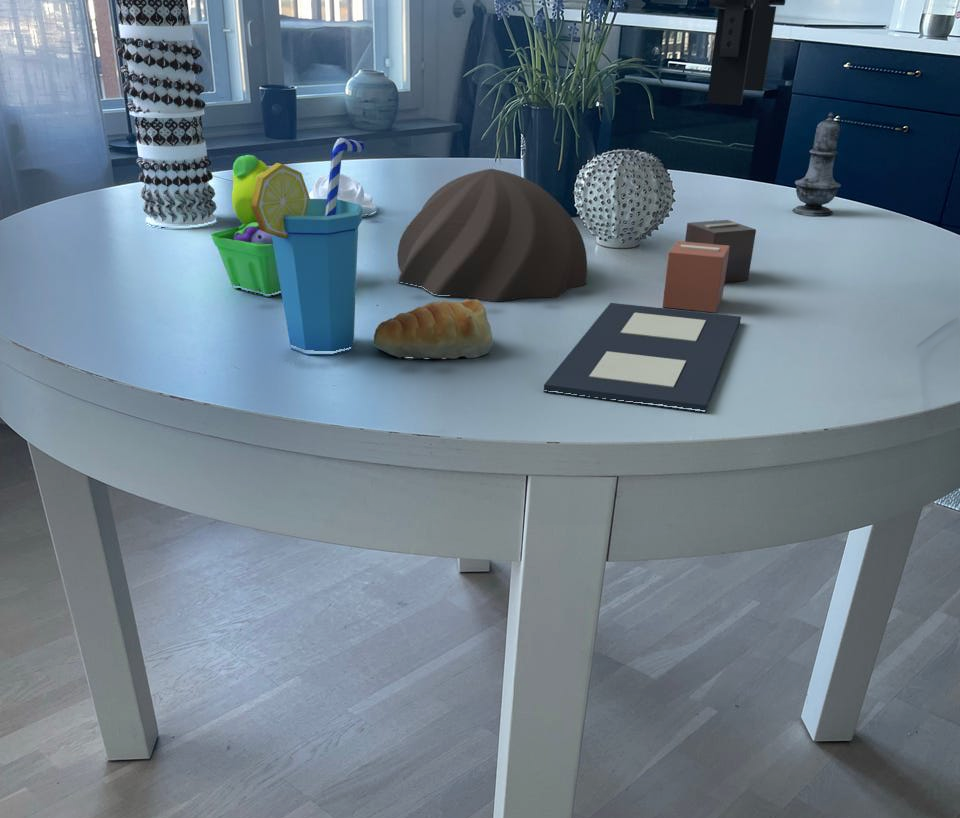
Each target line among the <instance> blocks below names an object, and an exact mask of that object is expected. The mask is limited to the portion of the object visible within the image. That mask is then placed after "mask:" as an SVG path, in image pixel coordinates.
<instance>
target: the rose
mask: <svg viewBox="0 0 960 818" xmlns="http://www.w3.org/2000/svg"><path fill="white" fill-rule="evenodd" d="M329 175H330V174H326V175H322V176H320V177H318V178H317V179H316V180H315V181H314V184H313V187H312V190H311V191H310V192H308V194H309V197H310V199H327V194H328V184H329ZM337 199H338V200H342V201H347V202H351V203H355V204H359V205H361V206H362V215H364V214H371V213H373V212H375V211H377V212H378V208H379V205H378V204H377V203H376V202H373V195H371V194H369V193H367V192H365V190H364V187H363V186H362V184H361V183H360V182H359V181H358V180H357V179H356V178H354V177H353V178H352V177H351V176H348V175H346V174H343V173H340V178H339V187H338V196H337ZM375 214H376V213H374V214H372V215H368V216H367V217H370V216H373V215H375ZM365 217H366V216H362V218H365Z"/></svg>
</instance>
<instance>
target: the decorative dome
mask: <svg viewBox="0 0 960 818" xmlns="http://www.w3.org/2000/svg"><path fill="white" fill-rule="evenodd" d="M397 266H398V269H399V268H400V269H401V270H402V271H401V270H400V269H399V270H400V274H399V277H398V279H397V283H398V284H401V285H405V286H410V287H415V288H419V289H422V290H424V291H425V292H426V293H428V294H430V295H431V296H434V297H438V296H437V295H450V296H439V297H443V298H445V297H447V298H448V297H449V298H471V299H478V300H481V301H482V300H483V301H488V302H492V303H493V302H494V303H495V302H496V303H499V302H500V303H501V302H506V301H512V300H517V299H518V300H519V299H524V298H556V297H559V296H561V294H563V292H564V291H565V290H568V289H572V288H577V287H580V286H581V287H582V286H585V285H586V284H587V278H588V257H587V250H586V245H585V243H584V239H583V237H582V234H581V232H580V230H579V228H578V226H577V224H576V223H575V221H574V220H573V218H572V216H571V215H570V214H569V213H568V211H567V209H565V208H564V207H563V206H562V204H561V203H560V202H559V201H557V199H555V197H554V196H552V195H551V194H550V193H549V192H548V191H547V190H546V189H544V188H543V187H541V186H540V185H538V184H536V183H534V181H531V180H529V179H528V178H525V177H523V176H520V175H517V174H515V173H511V172H509V171H504V170H500V169H495V168H487V169H481V170H478V171H474V172H471V173H467V174H464V175H462V176H459V177H457V178H455V179H453V180H451V181H448V182H447V183H446V184H444V185H443V186H441V187H440V188H438V189H437V190H436V191H435V192H434V193H433V194H432V195H431V196H430V197H429V198H428V199H427V201H426V202H425V203H424V205H423V206H422V208H421V210H420V211H419V212H418V213H417V214H416V215H415V216H414V217H413V218H412V220H411V221H410V223H409V224H408V225H407V227H406V228H405V229H404V231H403V233H402V234H401V236H400V239H399V242H398V247H397ZM398 281H399V282H398ZM400 282H403V283H400ZM404 283H408V284H404ZM409 284H413V285H417V286H413V285H409ZM418 286H422V287H424V288H425V289H427V290H428V291H430V292H432V293H433V294H437V295H433V294H431V293H430V292H428V291H427V290H425V289H424V288H422V287H418ZM469 296H470V297H469Z"/></svg>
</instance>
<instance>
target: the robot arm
mask: <svg viewBox="0 0 960 818" xmlns="http://www.w3.org/2000/svg"><path fill="white" fill-rule="evenodd" d="M786 1H787V0H709V1H708V3H709V5H708V7H709V8H717V9H718V12H717V20H716V25H715V26H716V28H715V33H714V34H715V35H714V42H713V51H712V59H711V67H710V72H709V73H710V75H709V81H708V88H707V99H706V104H711V105H712V104H713V105H727V106H729V105H730V106H742V104H743V99H744V92H745V91H753V92H754V91H755V92H763V91H764V89H765V83H766V76H767V70H768V64H769V57H770V56H769V55H770V50H771V44H772V37H773V30H774V26H775V25H774V24H775V17H776V12H777V6H785V5H786Z"/></svg>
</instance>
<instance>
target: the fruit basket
mask: <svg viewBox="0 0 960 818" xmlns="http://www.w3.org/2000/svg"><path fill="white" fill-rule="evenodd" d="M269 168H270V167H269V166H268V165H267V164H266V163H265V162H263V160H260V159H258V157H257V156H255V155H252V154H245V155H241V156H238V157H237V158H235V160H234V162H233V165H232V181H233V182H232V184H233V185H232V191H231V203H232V208H233V211H234V214H235V215H236V217H237V218H238V220H239V221H240V222H241V225H239V226H238V225H237V226H234V227H231V228H226V229H223V230H219V231H216V232H215V231H214V232H212V233H210V238H211V239H212V241H213V244H214V246H215V247H216V248H217V251H218V253H219V255H220V258H221V261H222V263H223V265H224V266H223V267H224V268H225V271H226V274H227V276H228V279H229V281H230V283H231V286H232V285H234V286H241V287H243V288H247V289H251V290H254V291H259V292H262V293H265V294H272V293H275V292H278V291H281V287H280V282H279V276H278V270H277V264H276V258H275V252H274V246H273V240H272V235H271V234H269V233H267V232H264V231H261V230H260V228H259V225H258V222H257V220H256V217H255V215H254V212H253V209H252V207H251V203H252V198H253V194H254V190H255V186H256V181H257V177H258V176H259V175H261V174H262V173H263V172H265V171H266V170H267V169H269ZM234 290H238V289H237V288H234ZM246 292H247V293H249V292H248V291H246ZM250 293H251V294H253V293H252V292H250ZM254 294H256V293H254ZM256 295H257V294H256ZM259 295H262V294H259ZM279 295H282V293H280V294H277V295H276V296H279ZM262 296H263V295H262ZM274 296H275V295H273V296H265V297H267V298H270V297H274Z"/></svg>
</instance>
